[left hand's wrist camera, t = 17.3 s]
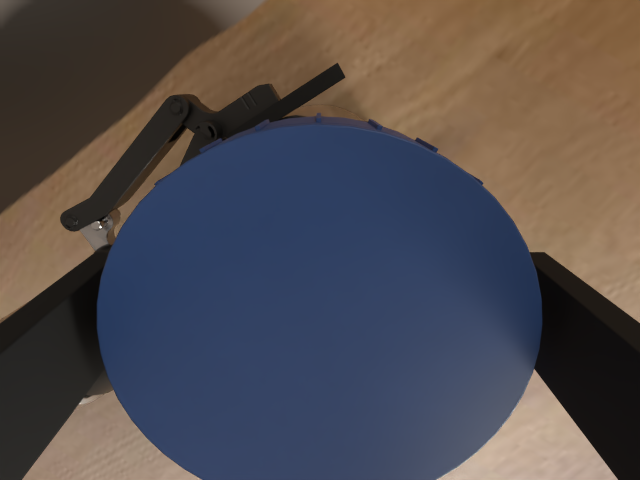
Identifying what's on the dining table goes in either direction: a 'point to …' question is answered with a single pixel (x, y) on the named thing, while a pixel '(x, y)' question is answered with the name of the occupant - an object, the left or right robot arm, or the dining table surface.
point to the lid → (319, 308)
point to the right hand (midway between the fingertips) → (388, 159)
